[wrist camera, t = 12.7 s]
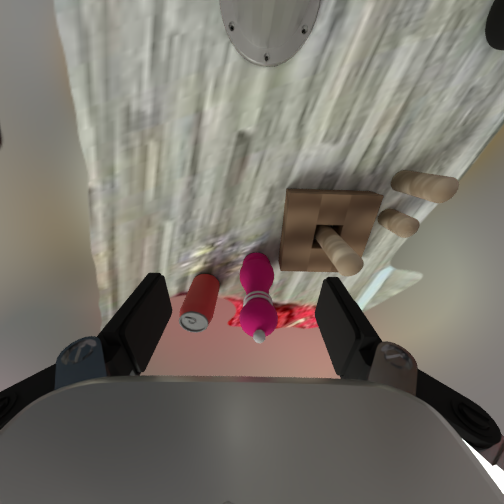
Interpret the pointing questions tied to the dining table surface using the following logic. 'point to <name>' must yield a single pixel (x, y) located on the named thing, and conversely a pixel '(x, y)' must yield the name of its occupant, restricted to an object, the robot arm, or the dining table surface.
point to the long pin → (338, 251)
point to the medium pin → (425, 185)
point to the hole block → (324, 213)
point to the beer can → (199, 303)
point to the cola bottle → (495, 25)
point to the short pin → (398, 222)
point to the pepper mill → (257, 297)
